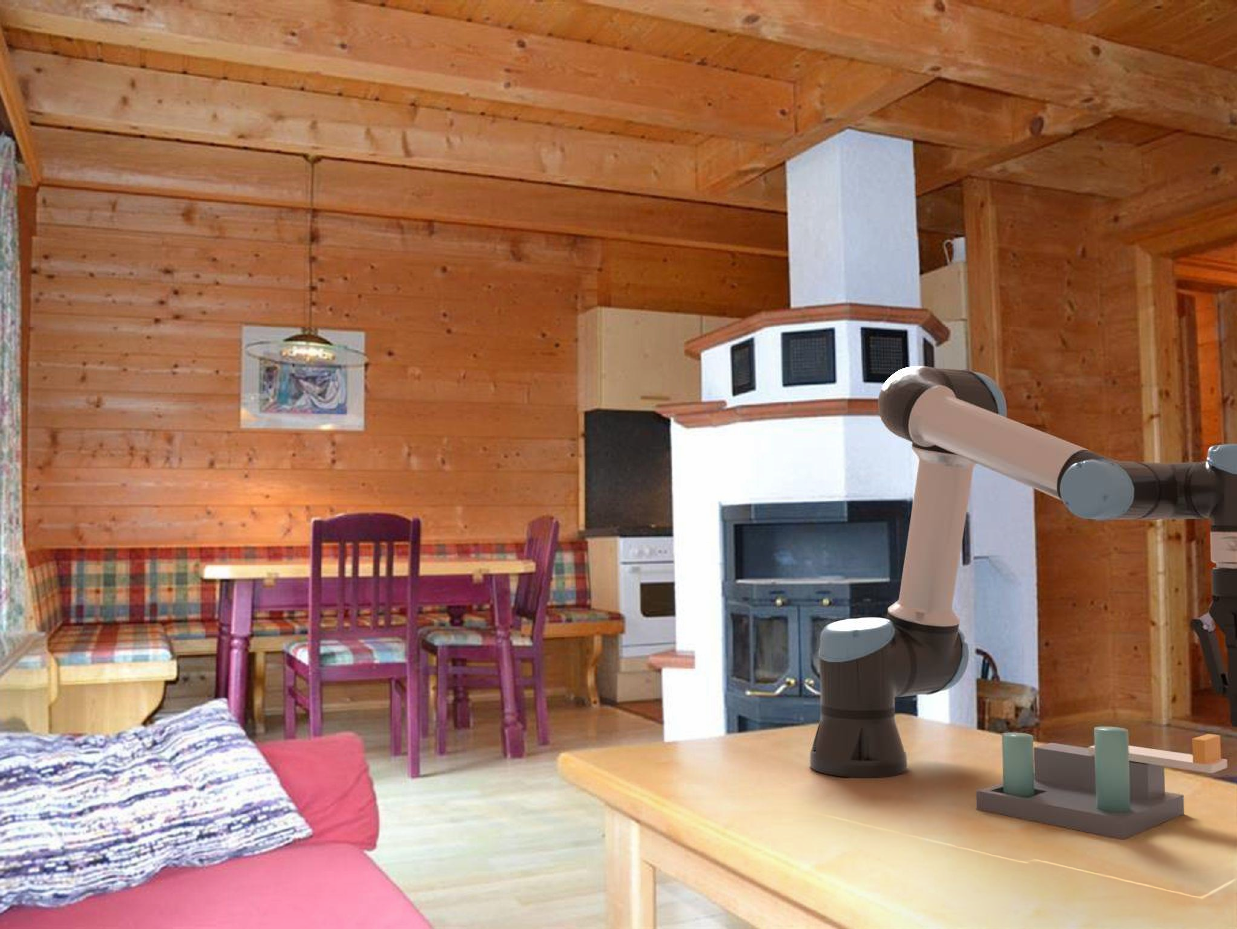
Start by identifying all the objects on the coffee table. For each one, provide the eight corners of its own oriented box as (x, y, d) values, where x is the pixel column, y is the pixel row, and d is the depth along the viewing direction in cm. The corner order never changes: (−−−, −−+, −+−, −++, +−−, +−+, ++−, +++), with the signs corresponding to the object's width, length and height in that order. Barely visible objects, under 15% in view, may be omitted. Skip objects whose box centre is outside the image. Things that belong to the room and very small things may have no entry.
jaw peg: (1013, 804, 158) (1011, 731, 158) (1040, 809, 155) (1038, 735, 155) (997, 809, 155) (996, 735, 155) (1025, 815, 152) (1023, 739, 152)
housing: (976, 809, 155) (974, 716, 156) (1042, 788, 167) (1040, 702, 168) (1122, 839, 140) (1120, 736, 141) (1184, 813, 152) (1181, 719, 153)
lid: (1088, 754, 156) (1087, 724, 156) (1105, 749, 159) (1104, 720, 159) (1211, 773, 144) (1210, 741, 144) (1227, 767, 147) (1226, 736, 148)
